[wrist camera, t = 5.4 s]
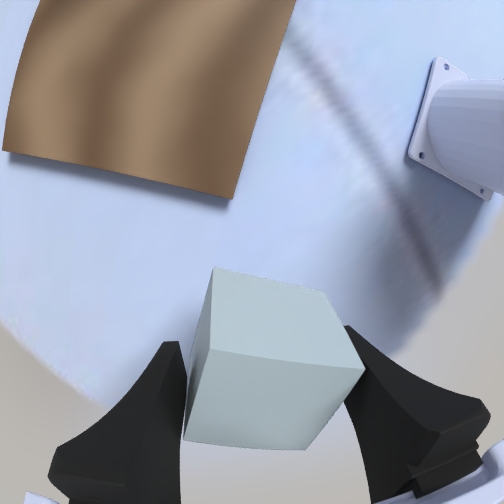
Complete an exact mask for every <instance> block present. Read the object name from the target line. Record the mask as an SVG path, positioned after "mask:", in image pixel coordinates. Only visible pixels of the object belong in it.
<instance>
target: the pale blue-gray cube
mask: <svg viewBox="0 0 504 504" xmlns="http://www.w3.org/2000/svg"><path fill="white" fill-rule="evenodd" d="M364 371H365V367H364V365H363V363H362V361H361V359H360V357H359V355H358V353H357V351H356V350H355V348H354V346H353V344H352V342H351V340H350V338H349V336H348V334H347V332H346V330H345V328H344V327H343V325H342V323H341V321H340V319H339V317H338V315H337V313H336V311H335V310H334V308H333V306H332V304H331V302H330V300H329V298H328V297H327V295H326V293H325V291H321V290H316V289H311V288H307V287H302V286H298V285H293V284H288V283H284V282H279V281H275V280H270V279H266V278H261V277H257V276H253V275H248V274H244V273H239V272H235V271H231V270H226V269H222V268H218V267H213V270H212V274H211V278H210V281H209V285H208V289H207V292H206V296H205V300H204V304H203V308H202V312H201V315H200V319H199V323H198V327H197V331H196V335H195V339H194V343H193V347H192V351H191V355H190V364H189V374H188V385H187V397H186V408H185V421H184V435H183V440H186V441H192V442H198V443H206V444H213V445H221V446H230V447H241V448H253V449H271V450H306V449H307V448H308V446H309V445H310V444H311V443H312V442H313V440H314V439H315V438H316V437H317V435H318V434H319V433H320V432H321V430H322V429H323V428H324V427H325V425H326V424H327V423H328V421H329V420H330V419H331V417H332V416H333V415H334V413H335V412H336V411H337V409H338V408H339V407H340V405H341V404H342V402H343V401H344V400H345V398H346V397H347V395H348V394H349V393H350V391H351V390H352V388H353V387H354V385H355V384H356V382H357V381H358V380H359V378H360V377H361V375H362V374H363V372H364Z"/></svg>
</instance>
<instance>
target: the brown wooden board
mask: <svg viewBox="0 0 504 504" xmlns="http://www.w3.org/2000/svg"><path fill="white" fill-rule="evenodd" d="M295 2H296V0H40V2H39V5H38V7H37V10H36V12H35V15H34V18H33V20H32V23H31V26H30V28H29V31H28V34H27V37H26V40H25V43H24V47H23V50H22V53H21V57H20V60H19V64H18V67H17V71H16V75H15V79H14V83H13V88H12V92H11V97H10V102H9V107H8V113H7V118H6V125H5V131H4V139H3V147H2V151H7V152H13V153H19V154H25V155H31V156H37V157H42V158H48V159H53V160H58V161H64V162H69V163H74V164H79V165H84V166H89V167H94V168H99V169H104V170H108V171H113V172H118V173H122V174H127V175H132V176H136V177H141V178H145V179H149V180H154V181H158V182H162V183H167V184H171V185H175V186H179V187H184V188H188V189H192V190H196V191H200V192H204V193H208V194H212V195H216V196H220V197H224V198H228V199H233V195H234V192H235V188H236V185H237V182H238V178H239V175H240V172H241V168H242V165H243V162H244V158H245V155H246V152H247V148H248V145H249V142H250V139H251V135H252V132H253V129H254V126H255V122H256V119H257V116H258V113H259V110H260V107H261V103H262V100H263V97H264V94H265V91H266V88H267V85H268V82H269V79H270V76H271V73H272V70H273V66H274V63H275V60H276V57H277V54H278V52H279V49H280V46H281V43H282V40H283V37H284V34H285V31H286V28H287V25H288V22H289V19H290V17H291V14H292V11H293V8H294V5H295Z"/></svg>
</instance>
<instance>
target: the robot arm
mask: <svg viewBox="0 0 504 504" xmlns="http://www.w3.org/2000/svg"><path fill="white" fill-rule="evenodd" d="M444 65H445V66H446V70H445V68H444ZM420 152H421V153H422V157H421V158H419V154H420ZM408 155H409V157H410V158H411V159H413V160H415V161H417V162H419V163H421V164H423V165H425V166H427V167H428V168H430V169H432V170H434V171H436V172H438V173H440V174H441V175H443V176H445V177H447V178H449V179H450V180H452V181H454V182H456V183H457V184H459V185H461V186H462V187H464V188H466V189H467V190H469V191H471V192H472V193H474V194H476V195H477V196H479V197H480V198H482V199H484V200H486V201H489V200H490V199H491V197H492V194H493V192H494V191H495V192H497V193H500V194H502V195H504V79H470V78H469V77H468V76H466V75H465V74H464V73H463V72H461V71H460V70H459V69H457V68H456V67H455V66H453V65H452V64H450V63H449V62H448V61H446V60H445V59H443V58H442V57H436V58H434V60H433V64H432V68H431V72H430V76H429V80H428V84H427V88H426V92H425V96H424V99H423V103H422V106H421V110H420V113H419V117H418V120H417V123H416V127H415V130H414V133H413V136H412V140H411V143H410V146H409V149H408ZM480 190H481V191H480ZM343 327H344V328H345V330H346V332H347V334H348V336H349V338H350V340H351V342H352V344H353V346H354V348H355V350H356V351H357V353H358V355H359V357H360V359H361V361H362V363H363V365H364V367H365V371H364V372H363V374H362V375H361V377H360V378H359V380H358V381H357V382H356V384H355V385H354V387H353V388H352V390H351V391H350V393H349V394H348V395H347V397H346V398H345V400H344V404H345V406H346V408H347V411H348V413H349V416H350V418H351V420H352V423H353V425H354V428H355V431H356V435H357V438H358V442H359V445H360V449H361V453H362V457H363V461H364V465H365V471H366V476H367V480H368V486H369V493H370V499H371V504H499V503H501V502H502V501H503V500H504V439H503V440H501V441H499V442H498V443H496V444H495V445H493V446H492V447H491V448H489V449H488V450H487V451H486V452H485V453H484V455H483V456H482V458H480V456H479V454H478V452H477V451H476V450H477V449H478V448H479V445H478V443H477V441H476V439H477V438H478V437H479V436H480V434H481V433H482V431H483V430H484V429H485V428H486V426H487V424H488V423H489V420H490V417H491V415H490V413H489V411H488V410H487V409H486V407H485V405H484V404H483V403H482V401H481V400H480V399H478V398H474V397H470V396H466V395H462V394H458V393H455V392H452V391H449V390H446V389H443V388H441V387H439V386H436V385H434V384H432V383H430V382H428V381H425V380H423V379H421V378H419V377H418V376H416V375H414V374H412V373H411V372H409V371H407V370H406V369H404V368H402V367H401V366H399V365H398V364H396V363H395V362H394V361H392V360H391V359H389V358H388V357H387V356H385V355H384V354H383V353H381V352H380V351H379V350H378V349H376V348H375V347H374V346H373V345H371V344H370V343H369V342H368V341H367V340H365V339H364V338H363V337H362V336H361V335H360V334H358V333H357V332H356V331H355V330H354V329H353V328H351V327H350V326H349V325H348V326H343ZM186 397H187V374H186V370H185V366H184V362H183V358H182V354H181V350H180V346H179V341H167V342H163V343H162V344H161V346H160V348H159V349H158V351H157V352H156V354H155V356H154V357H153V359H152V360H151V362H150V363H149V365H148V366H147V368H146V369H145V370H144V372H143V373H142V375H141V376H140V377H139V379H138V380H137V381H136V383H135V384H134V385H133V386H132V388H131V389H130V390H129V391H128V392H127V394H126V395H125V396H124V397H123V398H122V399H121V400H120V401H119V402H118V403H117V404H116V405H115V406H114V407H113V408H112V409H111V410H110V411H109V412H108V413H107V414H106V415H105V416H104V417H102V418H101V419H100V420H99V421H98V422H97V423H95V424H94V425H93V426H91V427H90V428H88V429H87V430H86V431H84V432H83V433H81V434H80V435H78V436H77V437H75V438H73V439H71V440H70V441H68V442H66V443H64V444H62V445H61V446H59V447H57V449H56V452H55V454H54V456H53V459H52V463H51V466H50V469H49V473H48V478H49V480H50V482H51V483H52V484H53V485H54V486H55V487H56V488H57V489H59V490H60V491H61V492H62V493H63V494H64V495H66V496H67V497H68V498H69V499H70V500H69V504H181V495H180V440H181V433H182V426H183V419H184V412H185V405H186ZM23 504H59V503H58V502H56V501H54V500H52V499H50V498H47V497H43V496H41V495H38V494H35V493H32V492H27V493H26V496H25V499H24V503H23Z"/></svg>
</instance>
